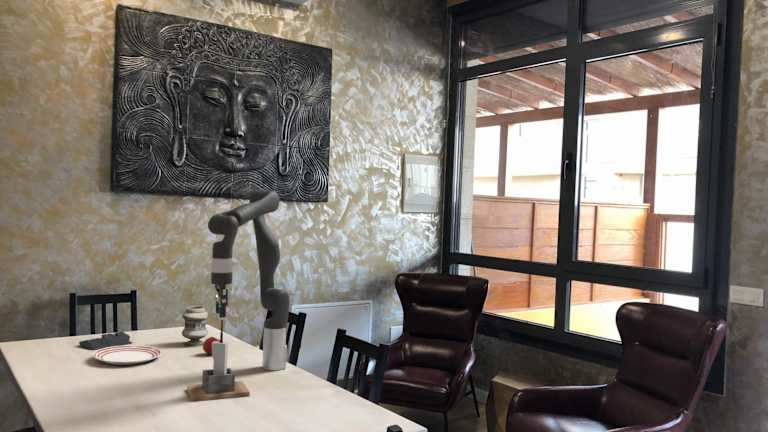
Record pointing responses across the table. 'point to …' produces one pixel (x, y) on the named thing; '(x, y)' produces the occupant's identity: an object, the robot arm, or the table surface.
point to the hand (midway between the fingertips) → (220, 315)
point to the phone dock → (217, 387)
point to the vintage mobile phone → (220, 355)
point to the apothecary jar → (195, 325)
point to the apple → (209, 345)
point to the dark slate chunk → (107, 341)
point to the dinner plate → (127, 354)
